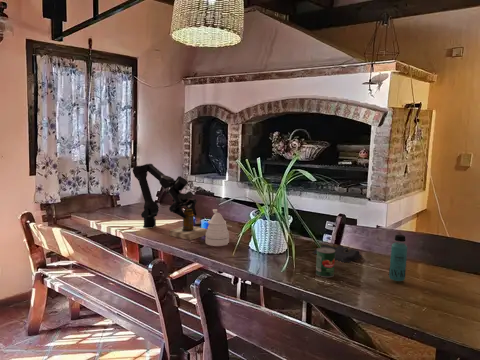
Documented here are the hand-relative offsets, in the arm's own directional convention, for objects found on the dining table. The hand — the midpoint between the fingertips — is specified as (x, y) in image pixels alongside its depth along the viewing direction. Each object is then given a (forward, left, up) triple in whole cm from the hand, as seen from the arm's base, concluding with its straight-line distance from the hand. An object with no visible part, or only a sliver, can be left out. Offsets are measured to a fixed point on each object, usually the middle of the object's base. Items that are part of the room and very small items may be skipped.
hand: (190, 216), depth 241 cm
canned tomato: (+69, -57, -11) cm, 90 cm away
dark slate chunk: (+79, -29, -12) cm, 85 cm away
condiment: (-2, 0, -8) cm, 8 cm away
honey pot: (+17, -13, -11) cm, 24 cm away
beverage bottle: (+98, -63, -11) cm, 117 cm away
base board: (-1, +1, -11) cm, 11 cm away
